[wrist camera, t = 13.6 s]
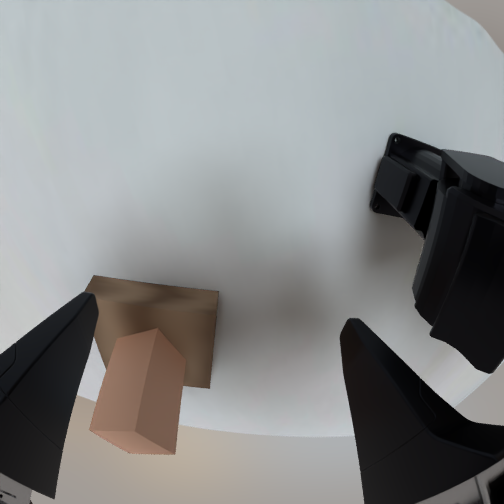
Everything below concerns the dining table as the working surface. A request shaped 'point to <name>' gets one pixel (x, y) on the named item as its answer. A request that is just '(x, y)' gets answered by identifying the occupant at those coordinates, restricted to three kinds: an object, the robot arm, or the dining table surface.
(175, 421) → the terracotta block
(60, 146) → the dining table surface
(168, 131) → the dining table surface
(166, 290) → the walnut plinth
